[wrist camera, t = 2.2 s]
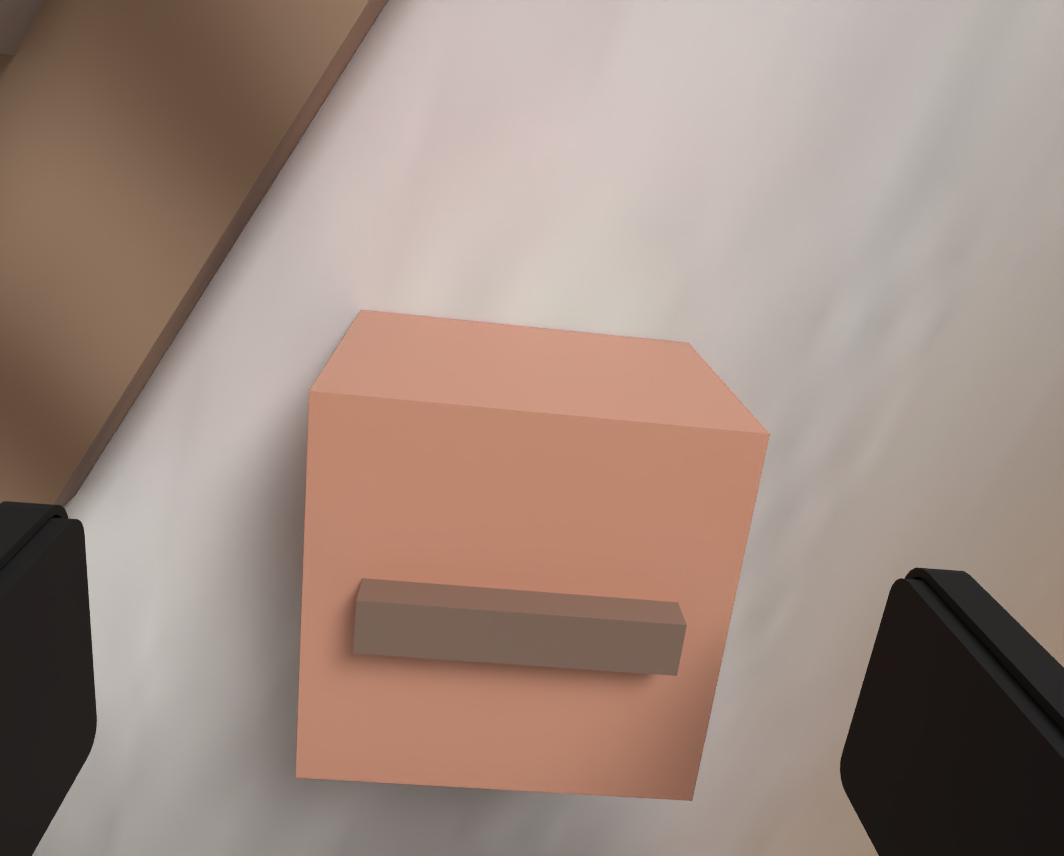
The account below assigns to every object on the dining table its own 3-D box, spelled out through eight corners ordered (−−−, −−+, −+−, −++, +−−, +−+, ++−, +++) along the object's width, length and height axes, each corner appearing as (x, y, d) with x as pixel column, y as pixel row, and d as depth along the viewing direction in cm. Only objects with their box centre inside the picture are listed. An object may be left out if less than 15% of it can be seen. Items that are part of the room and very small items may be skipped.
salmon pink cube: (639, 625, 19) (701, 830, 13) (345, 604, 18) (287, 807, 13) (688, 343, 17) (784, 450, 11) (360, 310, 16) (300, 405, 11)
